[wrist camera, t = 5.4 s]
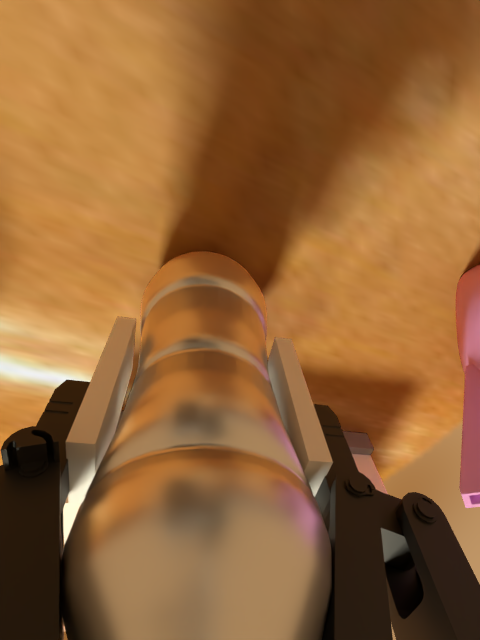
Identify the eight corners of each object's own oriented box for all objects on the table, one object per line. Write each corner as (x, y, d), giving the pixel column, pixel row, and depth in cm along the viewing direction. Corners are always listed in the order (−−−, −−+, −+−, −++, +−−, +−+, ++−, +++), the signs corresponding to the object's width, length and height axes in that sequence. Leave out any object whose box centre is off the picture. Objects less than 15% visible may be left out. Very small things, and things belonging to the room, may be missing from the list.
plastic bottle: (190, 357, 24) (153, 1013, 7) (122, 274, 21) (-276, 1144, 4) (279, 310, 23) (507, 974, 6) (222, 215, 19) (351, 1122, 2)
